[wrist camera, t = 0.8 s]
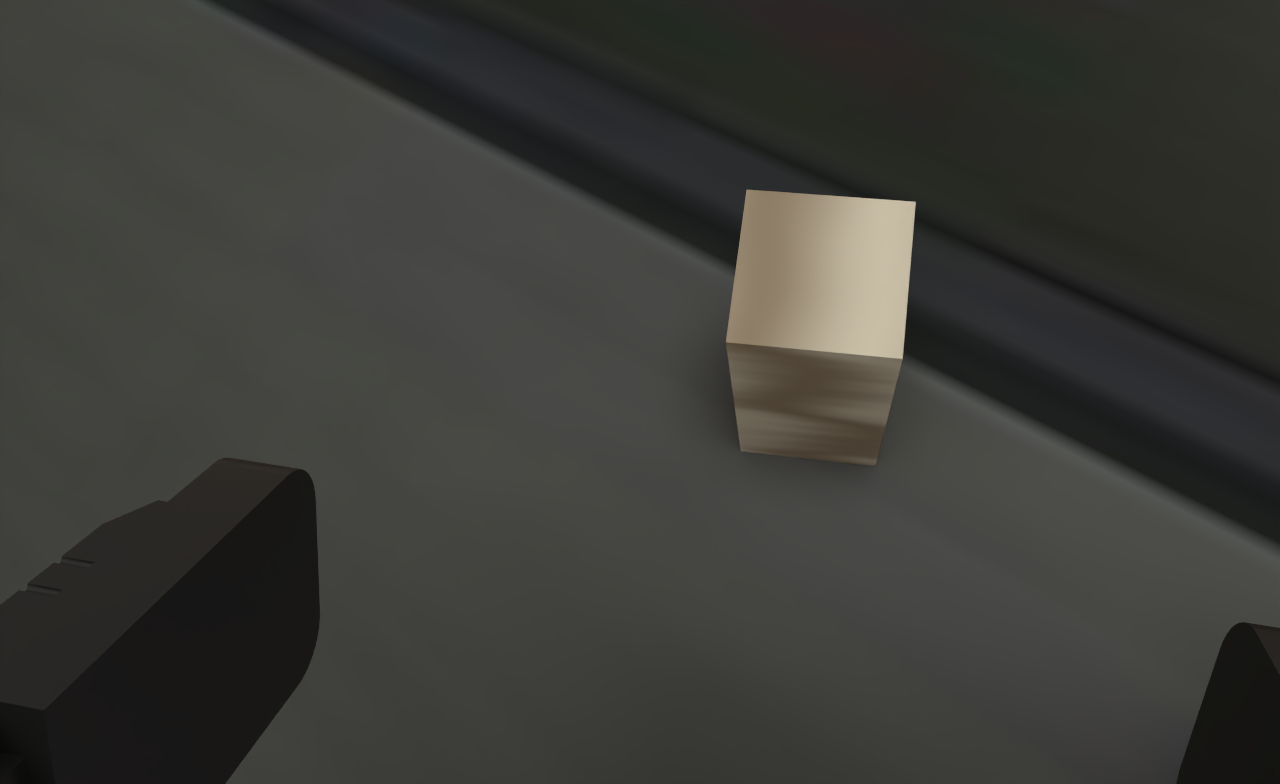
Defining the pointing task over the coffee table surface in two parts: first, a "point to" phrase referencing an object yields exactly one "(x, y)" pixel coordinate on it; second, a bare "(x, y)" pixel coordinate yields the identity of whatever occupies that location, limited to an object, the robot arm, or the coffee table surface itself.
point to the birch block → (818, 323)
